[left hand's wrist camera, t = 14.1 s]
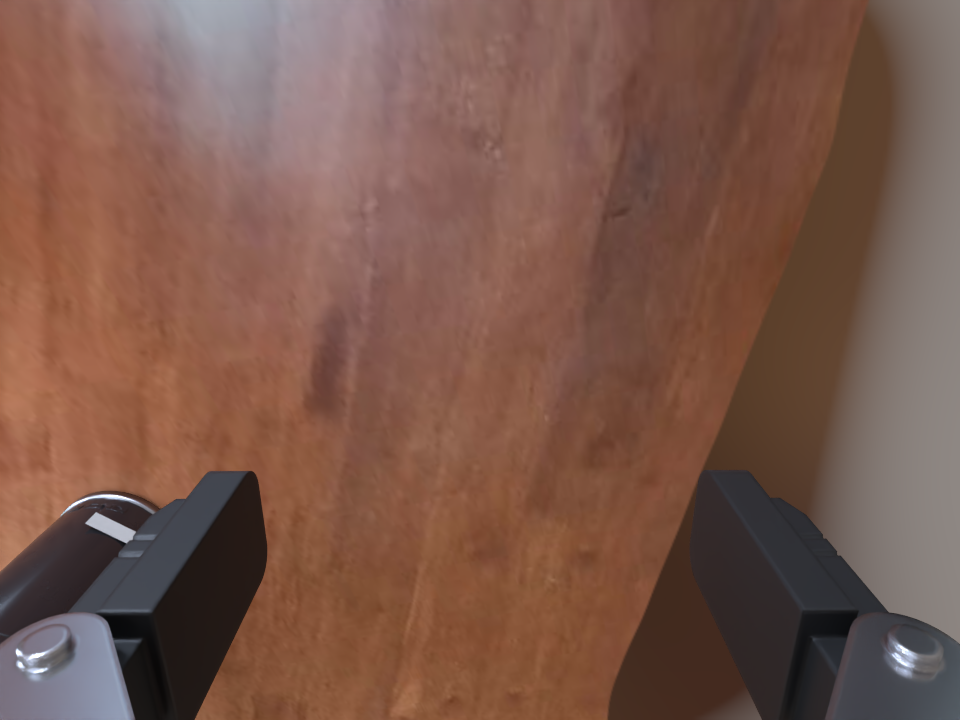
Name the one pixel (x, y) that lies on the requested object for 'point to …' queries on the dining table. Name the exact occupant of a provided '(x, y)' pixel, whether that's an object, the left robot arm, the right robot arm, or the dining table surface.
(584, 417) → the dining table surface
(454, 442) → the dining table surface
